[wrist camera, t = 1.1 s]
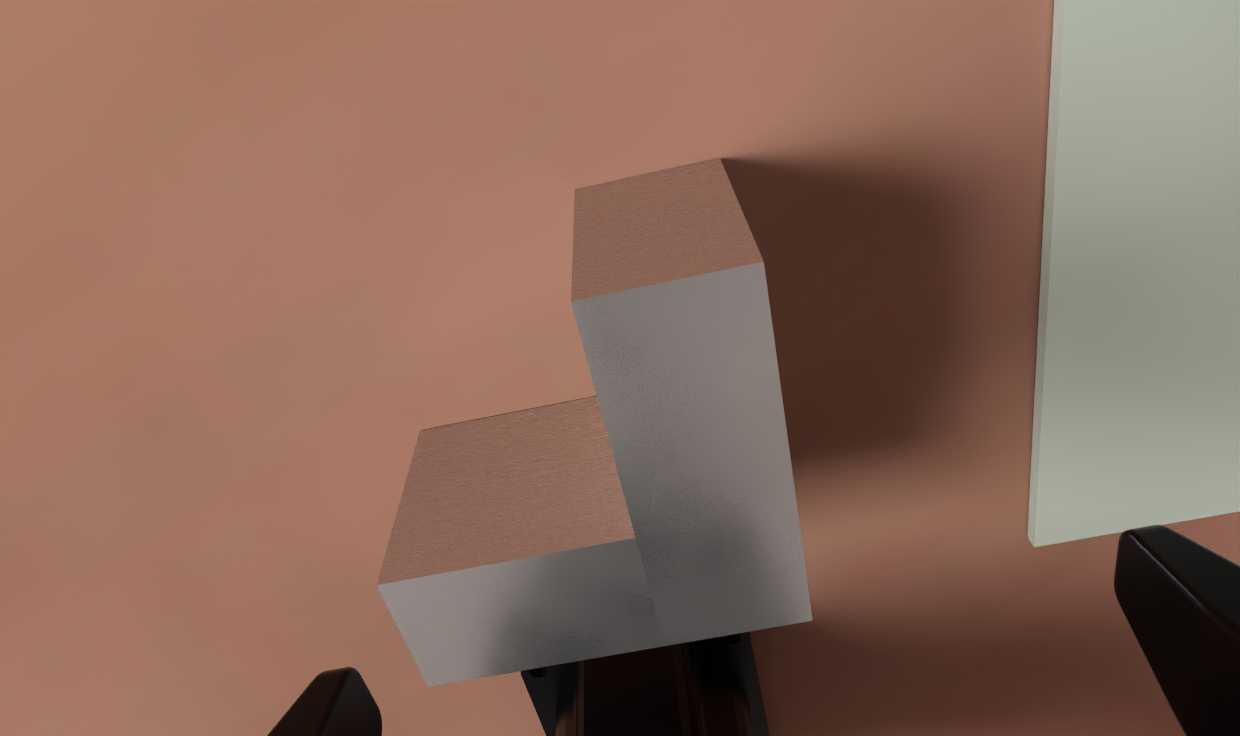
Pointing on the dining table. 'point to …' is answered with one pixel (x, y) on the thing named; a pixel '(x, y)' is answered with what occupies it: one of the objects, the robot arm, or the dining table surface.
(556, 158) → the dining table surface
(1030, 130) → the dining table surface
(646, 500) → the bracket
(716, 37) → the dining table surface
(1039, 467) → the mat
